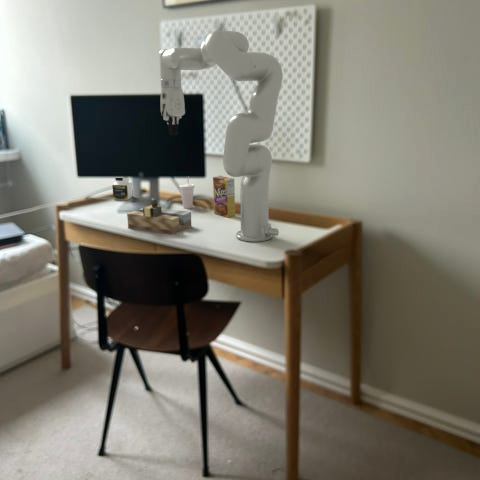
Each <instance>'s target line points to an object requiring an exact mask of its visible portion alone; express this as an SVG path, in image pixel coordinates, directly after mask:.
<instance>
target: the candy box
mask: <svg viewBox="0 0 480 480" xmlns="http://www.w3.org/2000/svg"><path fill="white" fill-rule="evenodd" d="M212 185H213V186H212V187H213V189H212V190H213V214H216V215H219V216H223V217H226V218H231V217H235V216H236V203H235V202H236V201H235V196H236V195H235V193H236V192H235V188H236V187H235V178H233V177H227V176H222V175H216V176H213V177H212Z"/></svg>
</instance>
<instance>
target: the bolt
mask: <svg viewBox="0 0 480 480" xmlns="http://www.w3.org/2000/svg"><path fill="white" fill-rule="evenodd" d="M158 201H159V200H158V198H151V199H150V205H151V206H149V205H148V206H149V207H146V206H145V207H146V208H144V212H145V216H147V217H151V216H153V210H152V209H153V208H156V207H159V206H160V204H159V203H158ZM160 207H161V206H160Z"/></svg>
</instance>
